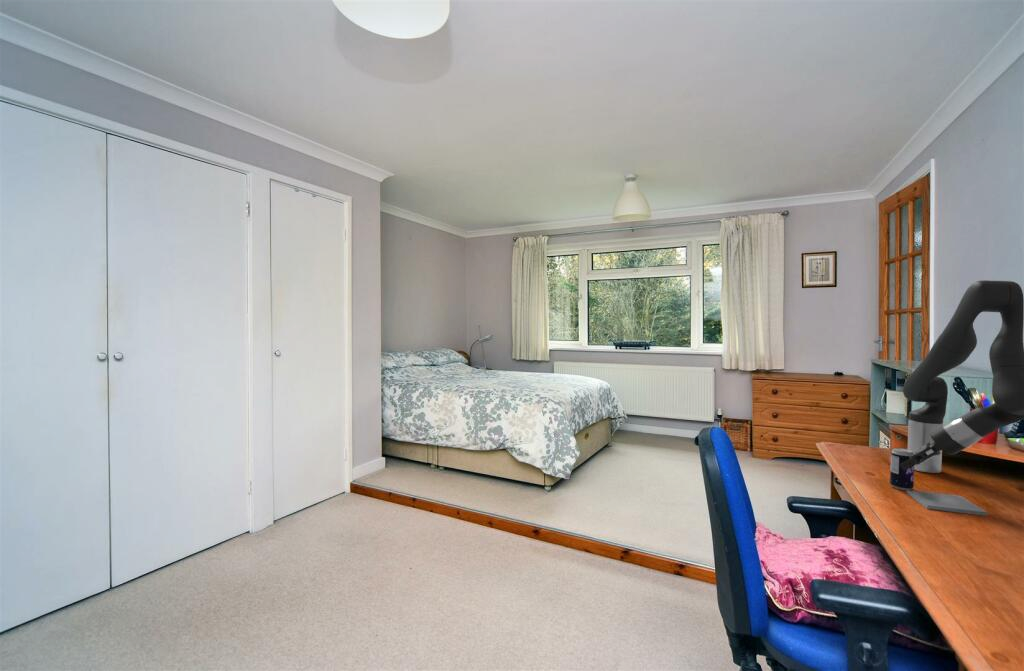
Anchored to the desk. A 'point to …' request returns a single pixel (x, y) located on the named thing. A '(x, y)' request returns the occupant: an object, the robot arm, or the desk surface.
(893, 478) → the beverage can
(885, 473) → the desk surface
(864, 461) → the desk surface
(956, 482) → the desk surface
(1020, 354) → the robot arm
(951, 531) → the desk surface
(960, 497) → the slate tile
